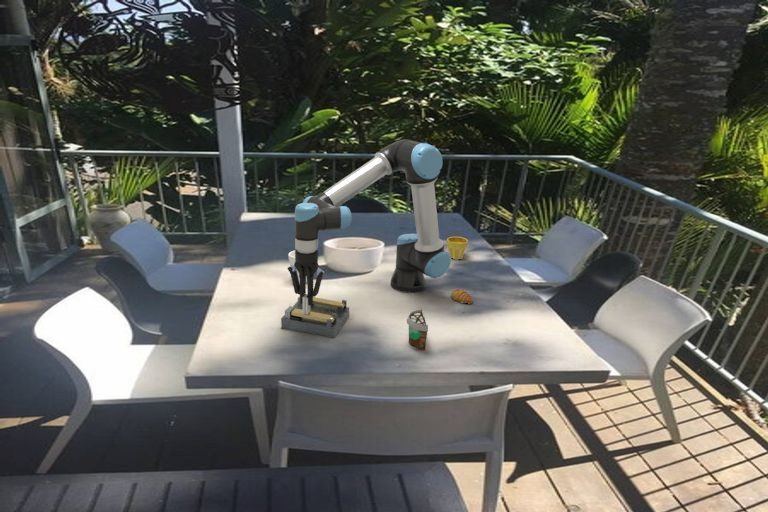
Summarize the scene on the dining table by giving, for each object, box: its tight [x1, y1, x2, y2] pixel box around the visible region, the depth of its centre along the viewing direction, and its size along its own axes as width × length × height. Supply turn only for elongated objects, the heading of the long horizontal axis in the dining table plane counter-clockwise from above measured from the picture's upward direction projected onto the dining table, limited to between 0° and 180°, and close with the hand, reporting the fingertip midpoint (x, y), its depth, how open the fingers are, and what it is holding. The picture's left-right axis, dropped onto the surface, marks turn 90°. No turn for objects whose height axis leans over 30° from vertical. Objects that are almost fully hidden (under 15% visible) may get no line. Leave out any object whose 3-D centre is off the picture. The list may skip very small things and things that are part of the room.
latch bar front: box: [291, 308, 335, 322], centre depth 170 cm, size 15×3×2 cm, turn 75°
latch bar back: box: [313, 296, 346, 308], centre depth 180 cm, size 15×3×2 cm, turn 75°
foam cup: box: [288, 250, 307, 284], centre depth 207 cm, size 10×9×13 cm
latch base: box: [280, 295, 350, 339], centre depth 176 cm, size 20×17×7 cm
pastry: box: [450, 288, 474, 305], centre depth 200 cm, size 9×7×4 cm
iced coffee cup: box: [406, 309, 429, 351], centre depth 166 cm, size 12×6×10 cm, turn 5°
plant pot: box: [446, 236, 469, 260], centre depth 245 cm, size 10×10×10 cm
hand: (306, 312), depth 170 cm, fingers closed
